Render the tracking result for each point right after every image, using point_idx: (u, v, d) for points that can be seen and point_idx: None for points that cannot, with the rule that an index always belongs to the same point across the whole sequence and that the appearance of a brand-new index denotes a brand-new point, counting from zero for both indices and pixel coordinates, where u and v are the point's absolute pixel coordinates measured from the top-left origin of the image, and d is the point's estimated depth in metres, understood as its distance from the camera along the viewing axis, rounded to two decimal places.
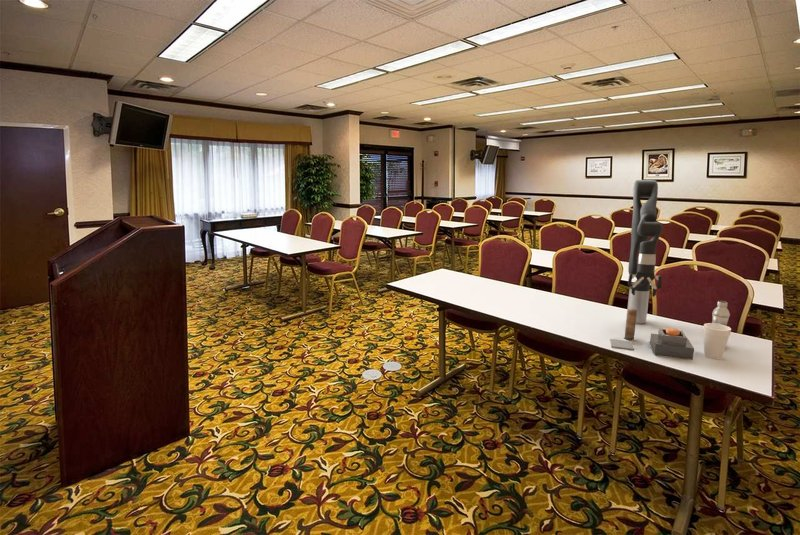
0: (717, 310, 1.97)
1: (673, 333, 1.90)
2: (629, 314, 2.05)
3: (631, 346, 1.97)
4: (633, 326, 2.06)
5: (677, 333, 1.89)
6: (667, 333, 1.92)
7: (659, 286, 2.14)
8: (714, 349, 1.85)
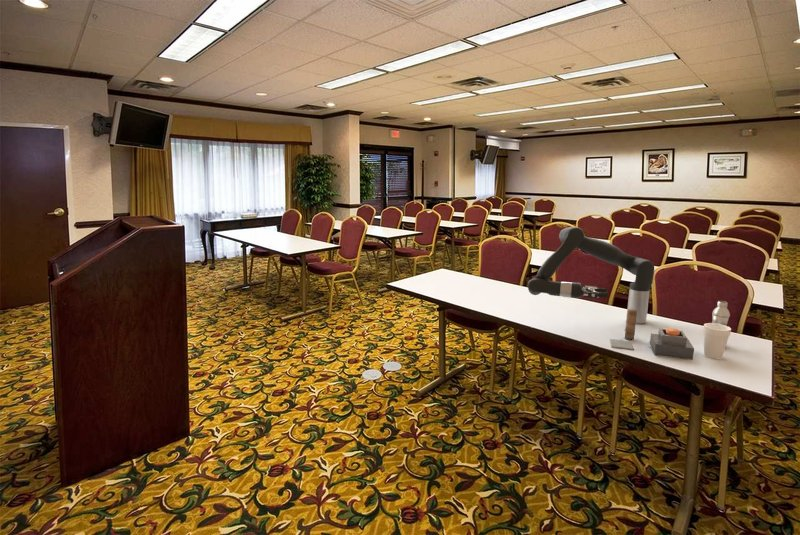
0: (717, 310, 1.97)
1: (673, 333, 1.90)
2: (629, 314, 2.05)
3: (631, 346, 1.97)
4: (633, 326, 2.06)
5: (677, 333, 1.89)
6: (667, 333, 1.92)
7: None
8: (714, 349, 1.85)
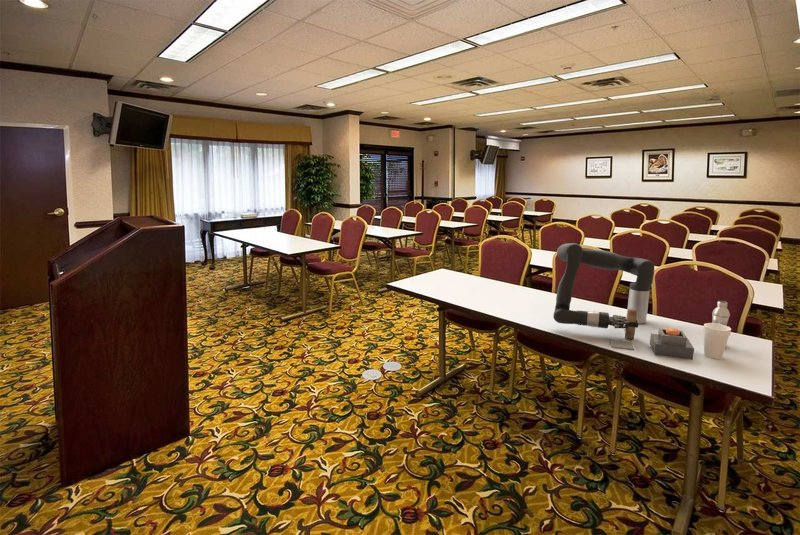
0: (717, 310, 1.97)
1: (673, 333, 1.90)
2: (629, 314, 2.05)
3: (631, 346, 1.97)
4: None
5: (677, 333, 1.89)
6: (667, 333, 1.92)
7: None
8: (714, 349, 1.85)
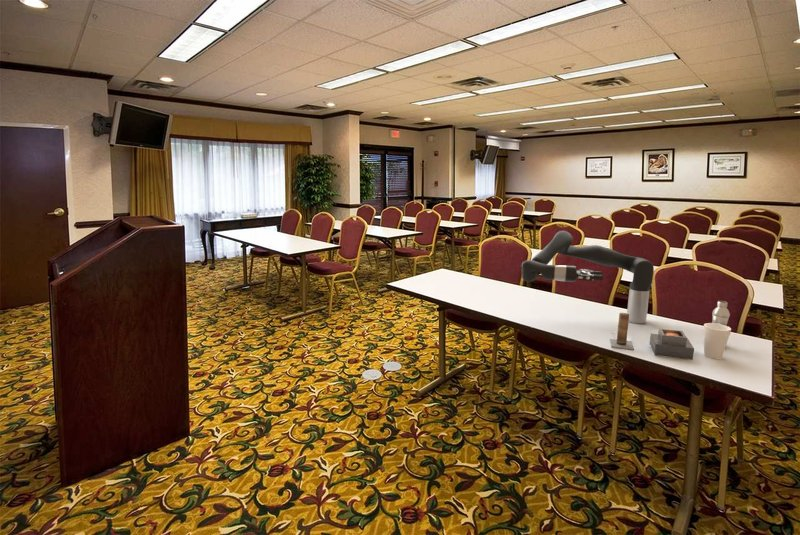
0: (717, 310, 1.97)
1: None
2: (621, 318, 1.98)
3: (631, 346, 1.97)
4: (625, 331, 1.98)
5: None
6: None
7: None
8: (714, 349, 1.85)
